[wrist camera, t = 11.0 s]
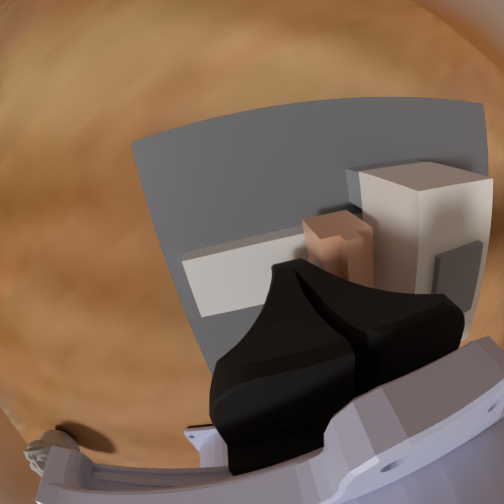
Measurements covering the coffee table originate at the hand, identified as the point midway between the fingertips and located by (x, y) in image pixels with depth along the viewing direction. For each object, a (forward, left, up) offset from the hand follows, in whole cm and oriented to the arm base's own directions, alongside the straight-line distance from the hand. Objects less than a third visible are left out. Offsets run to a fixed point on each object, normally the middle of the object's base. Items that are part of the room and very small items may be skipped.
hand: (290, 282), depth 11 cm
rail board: (0, -5, -3) cm, 6 cm away
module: (0, -6, -2) cm, 6 cm away
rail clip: (0, -2, -1) cm, 2 cm away
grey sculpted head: (-16, +26, -4) cm, 31 cm away
